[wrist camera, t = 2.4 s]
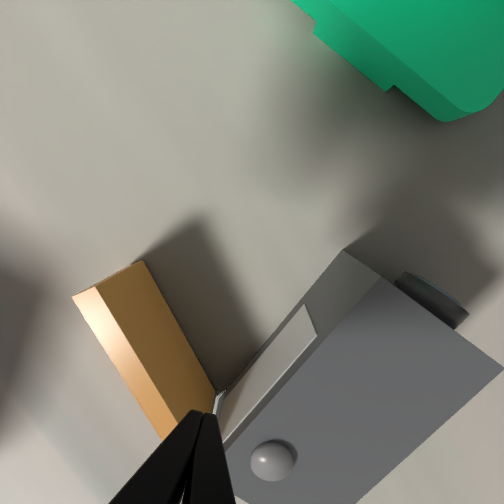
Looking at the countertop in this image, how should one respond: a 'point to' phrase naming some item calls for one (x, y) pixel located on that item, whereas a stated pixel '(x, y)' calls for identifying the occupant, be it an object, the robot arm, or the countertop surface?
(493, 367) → the housing
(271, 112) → the countertop surface
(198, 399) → the door
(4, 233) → the countertop surface
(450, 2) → the camera mount
